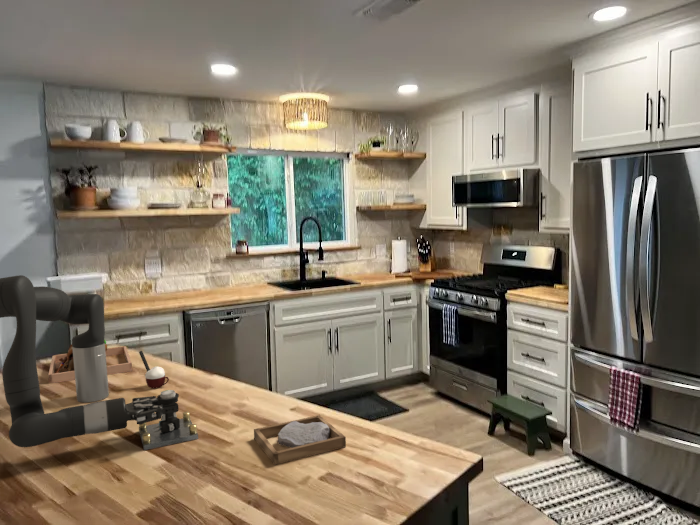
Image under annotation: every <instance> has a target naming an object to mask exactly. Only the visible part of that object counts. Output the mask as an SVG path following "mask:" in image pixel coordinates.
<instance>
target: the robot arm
mask: <svg viewBox="0 0 700 525" xmlns="http://www.w3.org/2000/svg"><path fill="white" fill-rule="evenodd" d="M9 317H10V318H11V317H12V318H13V317H14V318H16V331H15V335H14V339H13V341H12V343H11V346H10V347H9V350H8V352H7V355H6V357H5V359H4V362H3V365H2V384H3V391H4V396H5V401H6V404H7V405H8V406H9V411H10V418H11V419H10V420H11V426H10V428H9V431H8V437H9V441H10V442H11V443H12V444H13V445H15V446H16V447H19V448H32V447H36V446H40V445H44V444H47V443H51V442H54V441H57V440H60V439H61V440H62V439H65V438H66V439H67V438H73V437H79V436H84V435H92V434H94V435H95V434H102V433H107V432H112V431H116V430H117V431H118V430H122V429H126V428H127V427H128V422H129V421H130V422H131V421H136V425H139V424H143V423H146V424H147V423H150V422H154V421H157V420H161V418H162V416H163V414H168V413H174V412H176V413H178V412H179V403H178V402H176V403H172V404H166V405H163V406H162V405H161V404H159V403H158V400H157V396H156V395H153V396H142V397H140V396H139V397H133V398H132V400H131V402H130V403H126V399H125V398H124V397H119V398H113V399H112V398H111V399H107V398H108V397H109V395H110V394H109V391H110V390H109V379H108V375H107V366H108V365H107V356H106V352H105V341H106V339H105V336H106V335H105V333H106V331H105V329H106V328H105V327H106V326H105V304H104V300H103V298H102V296H101V295H100V294H99V293H98V294H97V293H86V294H85V293H84V294H81V293H80V294H70V295H68V294H67V292H65V291H63V290H62V289H60V288H59V289H58V288H55V287H52V286H51V287H50V286H34V284H33V282H32V281H31V280H30V279H29V278H28V277H27V276H25V275H22V274H21V275H19V274H18V275H13V276H8V277H7V276H6V277H0V319H1V318H9ZM37 321H42V322H56V321H57V322H59V321H61V322H63V323H67V324H70V325H86V324H87V325H88V328H87V330H86V331H84V332H83V333H80V334H77V335H75V336H73V337H72V339H71V344H72V349H73V360H74V371H75V382H74V383H75V393H76V394H75V395H76V401H77V402H78V403H87V404H82V405H77V406H76V405H75V406H68V407H66V408H61V409H59V410H58V411H55V412H48V413H47V412H46V413H45V411H44V406H43V402H42V398H41V389H40V381H39V373H38V368H37V361H36V360H37V359H36V358H37V357H36V356H37V354H36V349H37V348H36V346H37V341H36V340H37ZM104 339H105V340H104ZM104 399H106V400H104Z"/></svg>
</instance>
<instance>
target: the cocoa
mask: <svg viewBox="0 0 700 525" xmlns="http://www.w3.org/2000/svg"><path fill="white" fill-rule="evenodd" d="M138 354H139V356H140V358H141V361H142V364H143V366H144V368H145V370H146V372H145V374H144V377H145V383H146V385H147V387H148V388H150V389H159V388H162V387H163V386H166V385H167V383H169V381H170V379H169V377H168V376H166V372H165V369H164V368H163V367H161V366H158V365H157V366H153V367H151V369H150V366H149V364H148V361H147V359H146V356H145V355H144V352H143V351H142V350H139V351H138ZM165 381H166V382H165Z"/></svg>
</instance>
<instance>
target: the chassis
mask: <svg viewBox="0 0 700 525" xmlns="http://www.w3.org/2000/svg"><path fill="white" fill-rule="evenodd" d="M190 413H191V412H190V411H184V412H182V418H179V419H180V428H179V429H174V430H172V431H167V432H164V433H163V432H161V431H159V432H157V430H159V428H157V429H154V428H155V427H158V426H159V422H158V423H151V424H148V425H147V422H146V423H143V424H138V432H139V435H140V436H139V437H140V440H141V443H142V447H143V450H144V451H147V450H151V449H152V450H153V449H158V448H162V447H165V446H170V445H175V444H180V443H186V442H189V441H194V440H198V439H199V433H198V427H197V423H193V422H192V420H191V415H190ZM154 431H156V432H154Z"/></svg>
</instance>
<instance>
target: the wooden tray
mask: <svg viewBox="0 0 700 525" xmlns="http://www.w3.org/2000/svg"><path fill="white" fill-rule="evenodd" d="M127 348H128V347H127V346H126V345H123V346H121V345H120V346H114V347H107V351H106V357H108V356H109V357H110V356H115V355H117V356H118V355H124V358H125V362H124V363H118V364H112V365H107V376H109V375H114V374H121V373H126V372H133V364H132V363H133V362H132V360H131V357H130V355H129V351H128V349H127ZM64 357H67V353H61V354H55V355H52V358H51V361H50V365H49V371H48V374H47V375H48V384H54V383H60V382H61V383H62V382H68V381H74V380H75V371H69V372H68V371H64V372H59V373H56V365H57V364H61V363H62V362H61V361H59V359H61V358H62V359H63V360H64ZM65 363H68V362H67V361H66V362H65Z"/></svg>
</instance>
